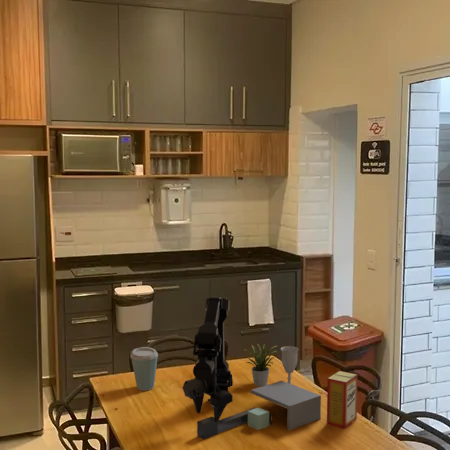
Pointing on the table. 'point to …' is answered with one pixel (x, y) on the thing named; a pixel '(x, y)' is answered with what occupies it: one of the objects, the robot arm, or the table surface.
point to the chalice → (289, 359)
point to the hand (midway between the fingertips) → (207, 417)
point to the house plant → (261, 366)
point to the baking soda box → (342, 399)
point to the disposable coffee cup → (144, 367)
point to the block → (258, 418)
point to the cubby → (292, 402)
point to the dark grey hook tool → (222, 424)
